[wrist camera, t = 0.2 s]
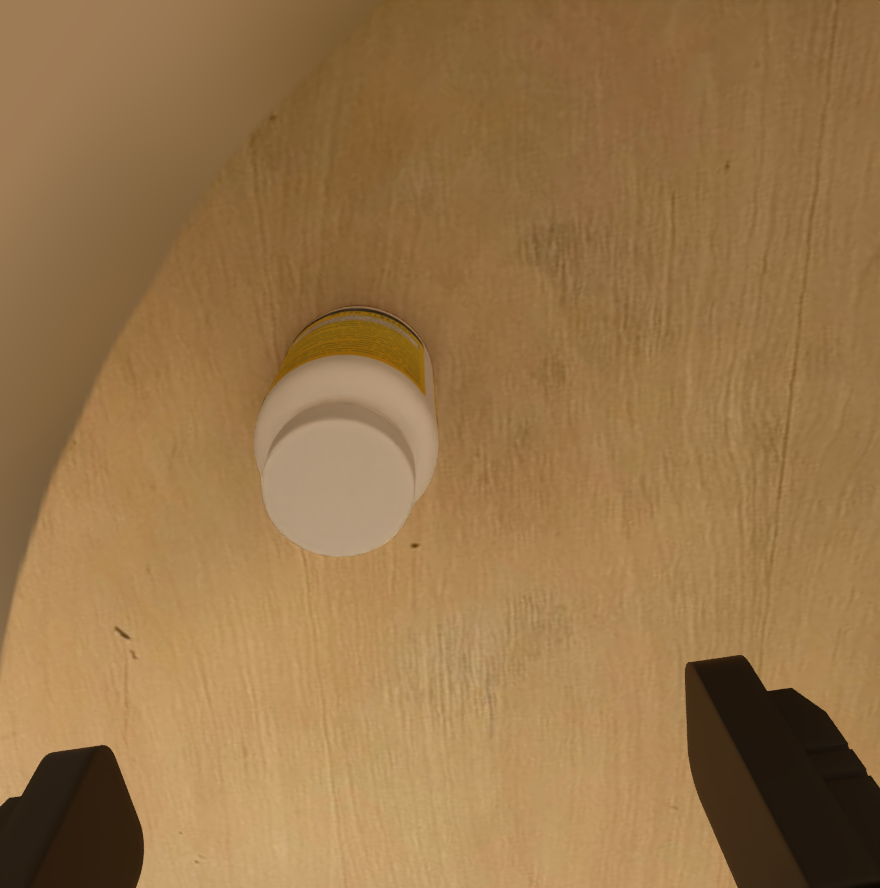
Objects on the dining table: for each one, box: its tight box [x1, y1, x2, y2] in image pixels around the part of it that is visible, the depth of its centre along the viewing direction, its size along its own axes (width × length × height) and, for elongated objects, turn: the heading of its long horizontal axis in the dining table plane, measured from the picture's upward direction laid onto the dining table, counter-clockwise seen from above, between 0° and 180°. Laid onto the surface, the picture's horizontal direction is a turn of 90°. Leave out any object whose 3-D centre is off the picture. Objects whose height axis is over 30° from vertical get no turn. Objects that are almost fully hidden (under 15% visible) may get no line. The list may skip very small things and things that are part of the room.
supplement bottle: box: [254, 306, 439, 557], centre depth 26 cm, size 5×5×10 cm
